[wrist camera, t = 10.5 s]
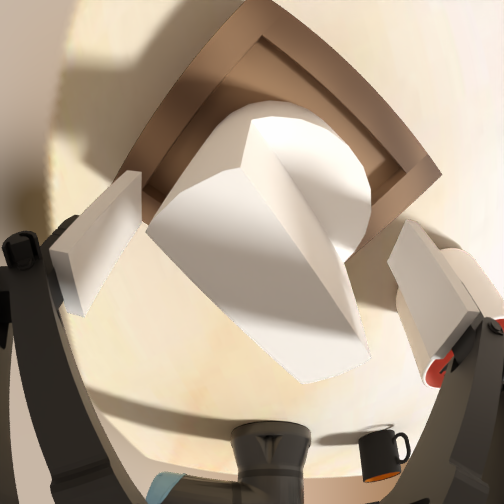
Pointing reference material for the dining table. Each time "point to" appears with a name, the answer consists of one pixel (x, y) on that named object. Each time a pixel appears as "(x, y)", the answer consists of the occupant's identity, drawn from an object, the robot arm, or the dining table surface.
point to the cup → (480, 292)
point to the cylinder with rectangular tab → (275, 234)
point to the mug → (381, 455)
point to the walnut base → (287, 90)
